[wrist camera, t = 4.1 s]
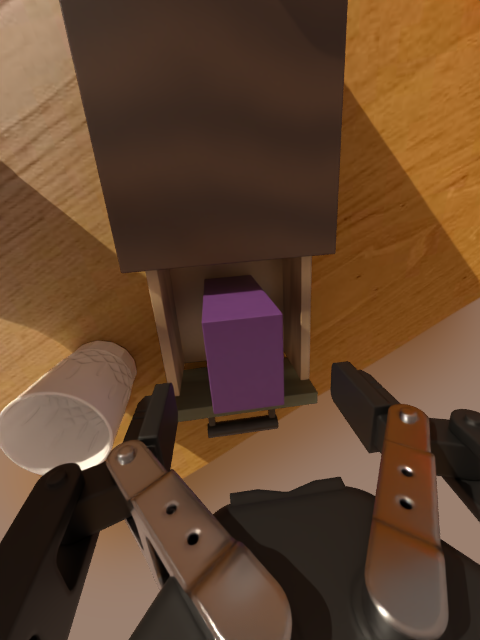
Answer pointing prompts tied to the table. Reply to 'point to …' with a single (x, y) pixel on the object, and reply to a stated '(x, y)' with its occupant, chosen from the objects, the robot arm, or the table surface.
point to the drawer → (188, 341)
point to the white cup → (70, 410)
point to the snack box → (242, 345)
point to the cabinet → (213, 125)
